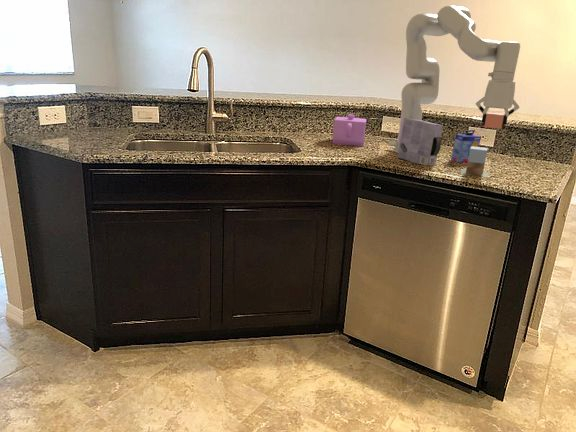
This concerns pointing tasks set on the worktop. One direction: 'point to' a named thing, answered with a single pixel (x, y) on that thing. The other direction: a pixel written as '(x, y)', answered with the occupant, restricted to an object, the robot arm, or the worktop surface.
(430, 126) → the cake pan box
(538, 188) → the worktop surface
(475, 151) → the block blue
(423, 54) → the robot arm
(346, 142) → the teapot
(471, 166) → the block walnut
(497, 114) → the block red
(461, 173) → the baseplate
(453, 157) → the ink cartridge box
